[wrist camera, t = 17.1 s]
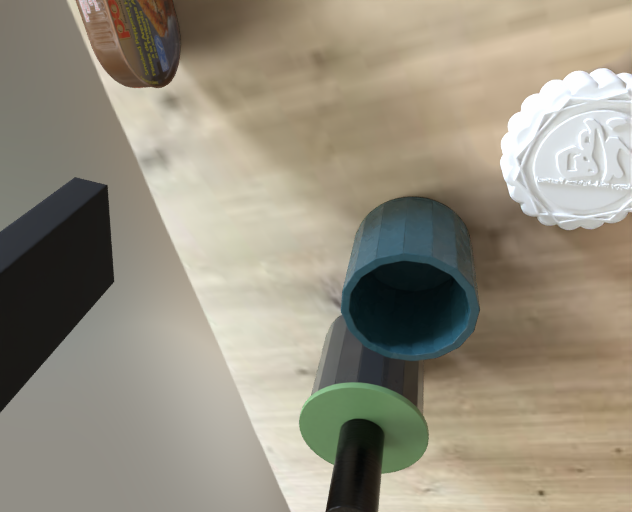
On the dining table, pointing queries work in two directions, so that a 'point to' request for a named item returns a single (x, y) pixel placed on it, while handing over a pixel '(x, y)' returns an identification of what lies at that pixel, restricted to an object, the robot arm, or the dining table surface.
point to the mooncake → (573, 151)
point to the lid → (362, 439)
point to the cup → (366, 366)
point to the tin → (134, 39)
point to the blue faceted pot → (411, 281)
